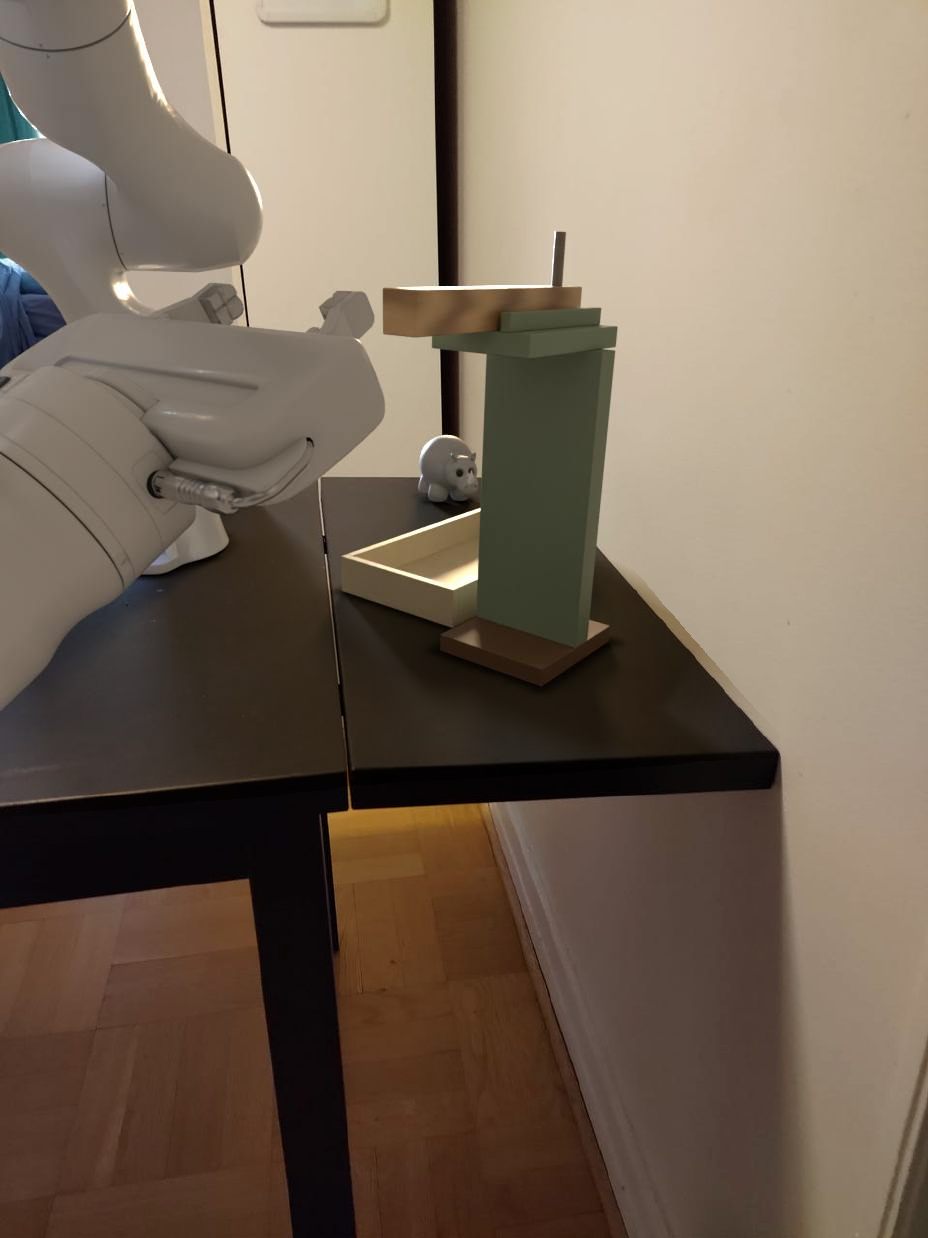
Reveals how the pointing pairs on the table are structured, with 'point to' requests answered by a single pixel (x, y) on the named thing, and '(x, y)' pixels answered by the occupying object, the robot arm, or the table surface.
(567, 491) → the door stand
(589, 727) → the table surface
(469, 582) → the tray
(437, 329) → the hanger
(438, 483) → the toy rhinoceros
